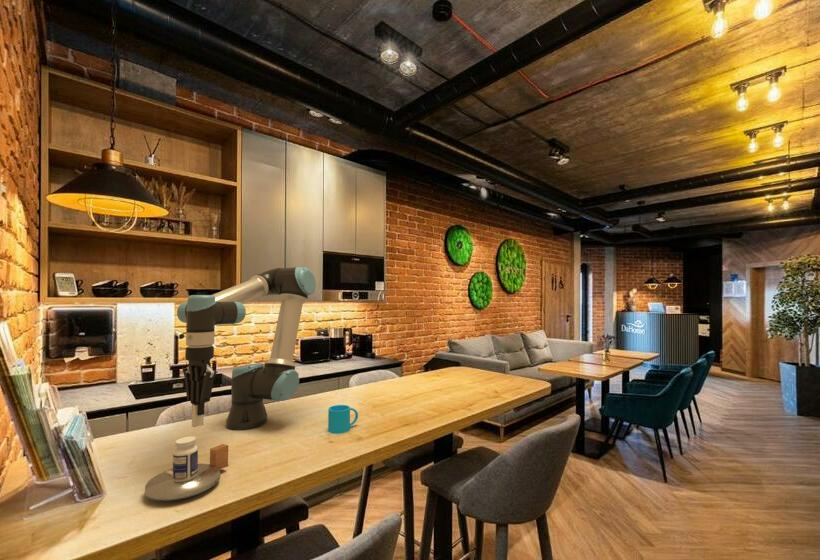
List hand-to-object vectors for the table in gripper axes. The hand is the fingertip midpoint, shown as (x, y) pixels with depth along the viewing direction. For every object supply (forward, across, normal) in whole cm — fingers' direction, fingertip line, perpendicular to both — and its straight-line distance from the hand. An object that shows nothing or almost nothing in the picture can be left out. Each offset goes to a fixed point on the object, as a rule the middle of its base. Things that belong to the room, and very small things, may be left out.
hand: (197, 425), depth 111 cm
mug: (+12, +19, +46) cm, 51 cm away
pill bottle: (+10, +9, -9) cm, 16 cm away
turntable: (+11, +9, -7) cm, 16 cm away
